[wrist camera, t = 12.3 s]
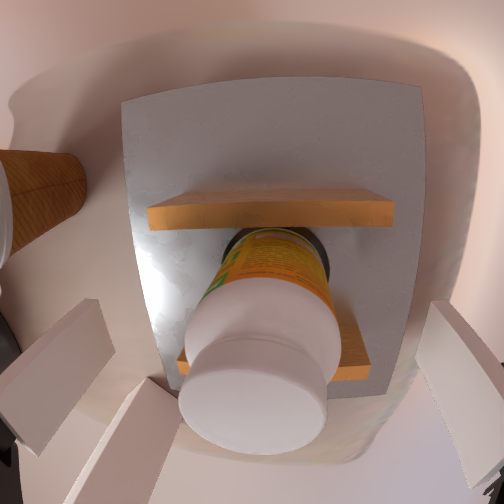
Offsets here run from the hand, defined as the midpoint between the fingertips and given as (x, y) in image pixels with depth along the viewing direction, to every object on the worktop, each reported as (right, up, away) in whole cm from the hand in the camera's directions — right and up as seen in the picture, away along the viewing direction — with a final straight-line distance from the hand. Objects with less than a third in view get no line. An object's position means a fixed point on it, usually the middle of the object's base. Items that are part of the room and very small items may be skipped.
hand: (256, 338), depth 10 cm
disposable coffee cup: (-18, +10, +12) cm, 24 cm away
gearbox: (+2, +4, +11) cm, 12 cm away
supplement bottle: (+1, +2, +6) cm, 6 cm away
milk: (-12, -15, +20) cm, 28 cm away
